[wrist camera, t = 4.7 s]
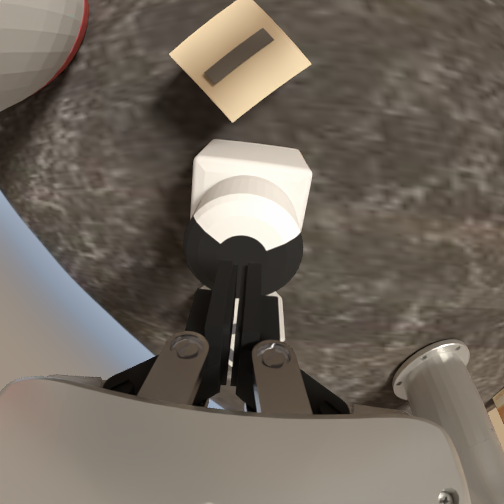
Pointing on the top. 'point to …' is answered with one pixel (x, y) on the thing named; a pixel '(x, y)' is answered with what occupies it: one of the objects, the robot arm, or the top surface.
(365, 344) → the top surface
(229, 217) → the medicine bottle
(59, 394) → the robot arm
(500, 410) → the coffeecake box
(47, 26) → the citrus juicer
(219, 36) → the maple block one
